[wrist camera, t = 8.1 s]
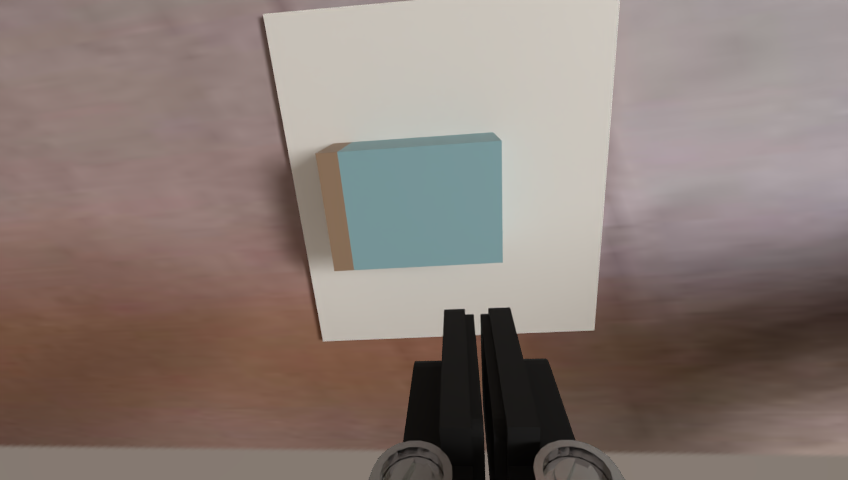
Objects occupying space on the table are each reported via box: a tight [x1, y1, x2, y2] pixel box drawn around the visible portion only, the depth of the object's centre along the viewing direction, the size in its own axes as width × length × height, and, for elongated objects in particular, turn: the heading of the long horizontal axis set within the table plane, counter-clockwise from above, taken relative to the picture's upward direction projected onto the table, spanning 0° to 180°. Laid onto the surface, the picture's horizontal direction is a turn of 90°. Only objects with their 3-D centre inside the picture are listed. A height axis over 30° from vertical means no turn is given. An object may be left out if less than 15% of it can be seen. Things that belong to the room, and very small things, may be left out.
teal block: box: [315, 132, 503, 271], centre depth 26 cm, size 4×7×10 cm
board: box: [263, 0, 620, 341], centre depth 28 cm, size 20×22×1 cm
